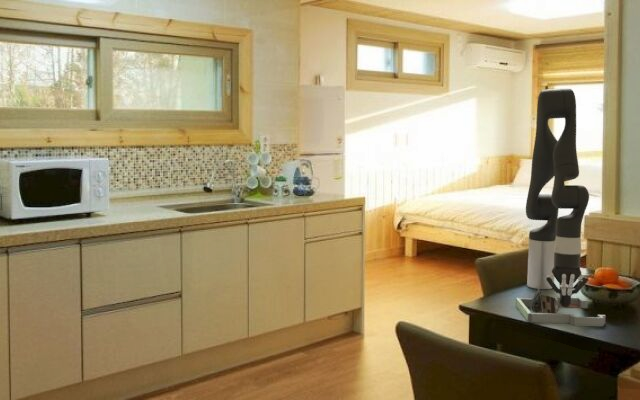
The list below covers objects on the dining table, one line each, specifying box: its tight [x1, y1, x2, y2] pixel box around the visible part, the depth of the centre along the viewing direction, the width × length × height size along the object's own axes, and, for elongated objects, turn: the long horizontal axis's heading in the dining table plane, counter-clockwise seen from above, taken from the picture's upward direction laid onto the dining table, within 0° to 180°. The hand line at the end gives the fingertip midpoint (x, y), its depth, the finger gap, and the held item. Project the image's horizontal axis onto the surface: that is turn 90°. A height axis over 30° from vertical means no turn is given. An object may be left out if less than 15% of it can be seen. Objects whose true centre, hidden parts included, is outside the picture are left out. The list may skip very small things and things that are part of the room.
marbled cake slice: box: [529, 288, 560, 314], centre depth 208 cm, size 10×7×12 cm
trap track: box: [515, 296, 606, 327], centre depth 207 cm, size 23×22×2 cm
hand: (564, 306), depth 207 cm, fingers closed
